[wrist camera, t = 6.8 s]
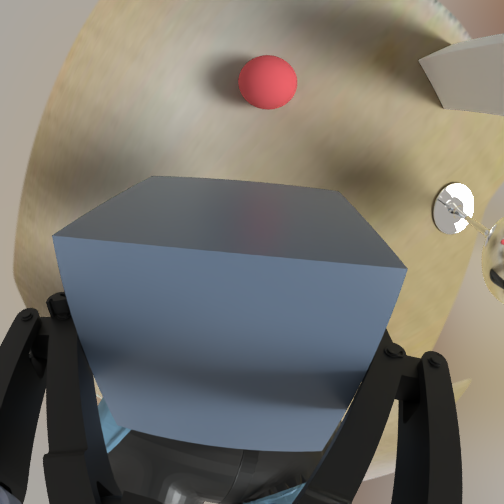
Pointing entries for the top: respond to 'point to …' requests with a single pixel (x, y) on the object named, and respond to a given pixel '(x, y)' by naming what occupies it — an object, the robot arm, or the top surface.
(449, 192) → the wineglass
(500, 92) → the milk
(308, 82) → the top surface
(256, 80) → the ball
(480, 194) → the top surface
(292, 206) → the blue gray block
